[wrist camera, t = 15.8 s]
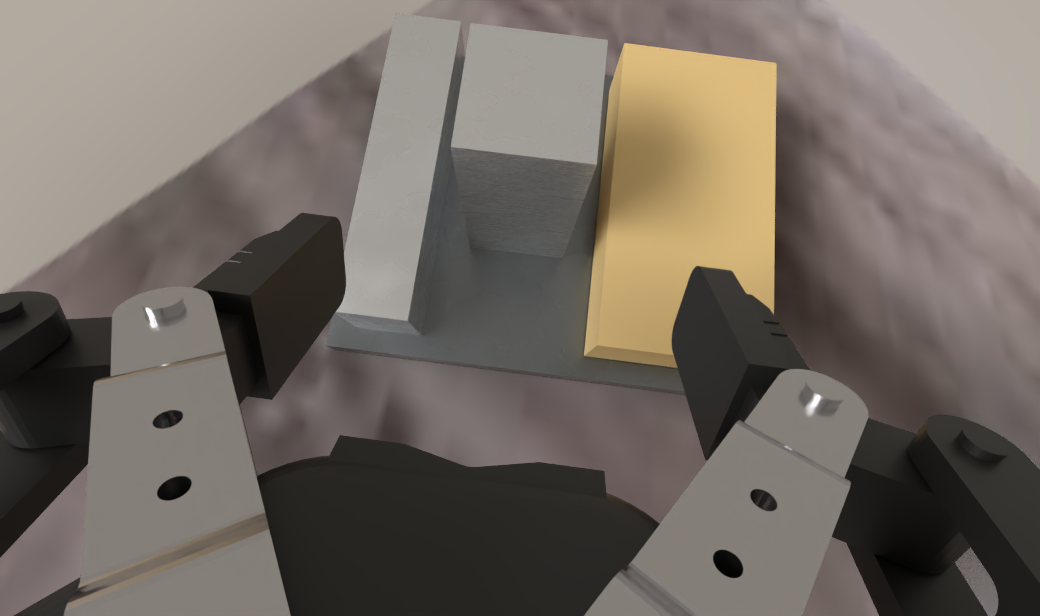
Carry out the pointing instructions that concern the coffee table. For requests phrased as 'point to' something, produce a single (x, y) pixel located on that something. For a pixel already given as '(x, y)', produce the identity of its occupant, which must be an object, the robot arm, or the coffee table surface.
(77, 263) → the coffee table surface
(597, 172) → the vise base
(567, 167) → the steel block
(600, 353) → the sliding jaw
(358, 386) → the coffee table surface
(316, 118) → the coffee table surface
